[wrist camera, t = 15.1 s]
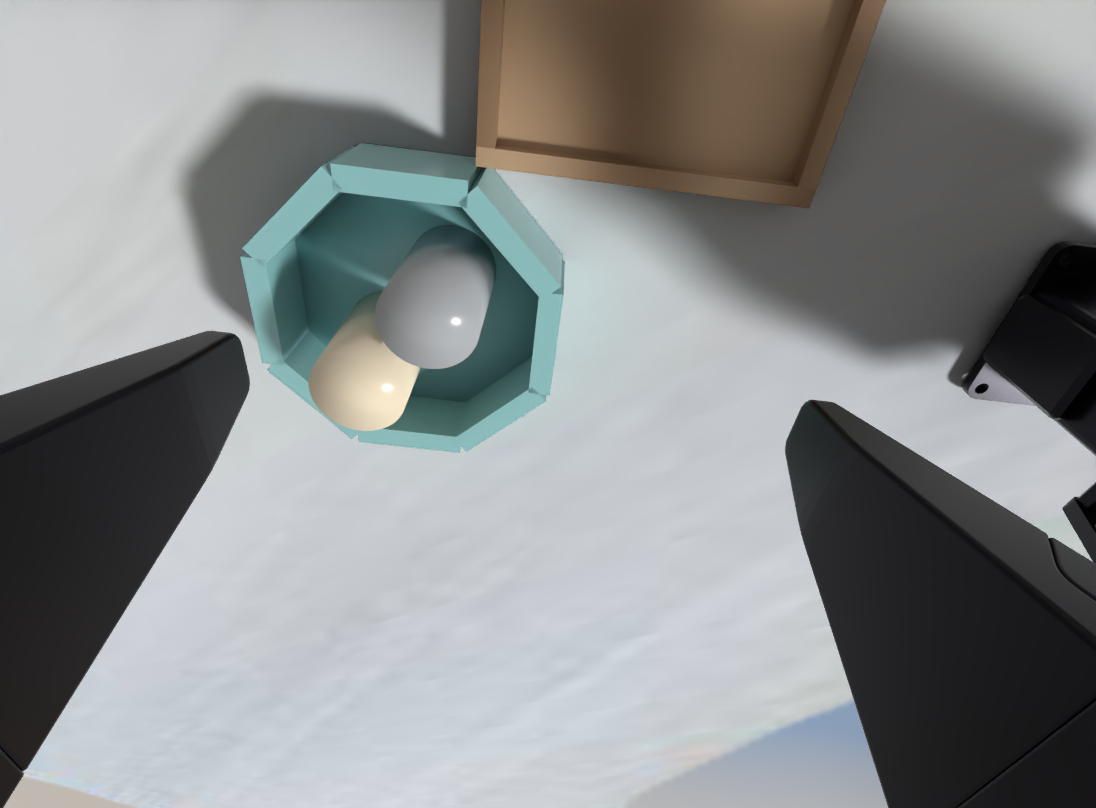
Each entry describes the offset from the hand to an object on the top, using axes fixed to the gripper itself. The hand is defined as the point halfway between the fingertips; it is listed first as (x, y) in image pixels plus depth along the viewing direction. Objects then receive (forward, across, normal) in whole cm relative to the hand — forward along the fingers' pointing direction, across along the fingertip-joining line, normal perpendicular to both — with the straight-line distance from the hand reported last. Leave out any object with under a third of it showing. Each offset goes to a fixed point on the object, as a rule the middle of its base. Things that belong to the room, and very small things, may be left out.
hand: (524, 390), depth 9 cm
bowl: (+13, +4, +5) cm, 15 cm away
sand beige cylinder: (+12, +6, +6) cm, 15 cm away
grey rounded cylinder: (+12, +3, +3) cm, 13 cm away
